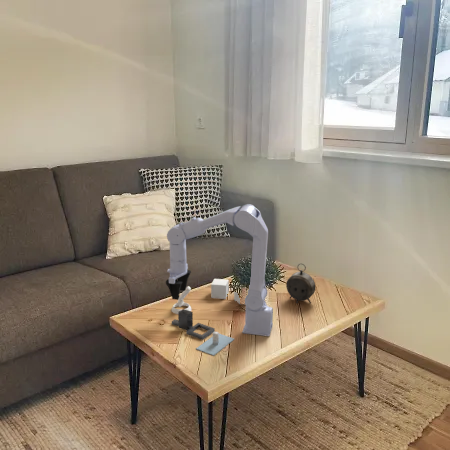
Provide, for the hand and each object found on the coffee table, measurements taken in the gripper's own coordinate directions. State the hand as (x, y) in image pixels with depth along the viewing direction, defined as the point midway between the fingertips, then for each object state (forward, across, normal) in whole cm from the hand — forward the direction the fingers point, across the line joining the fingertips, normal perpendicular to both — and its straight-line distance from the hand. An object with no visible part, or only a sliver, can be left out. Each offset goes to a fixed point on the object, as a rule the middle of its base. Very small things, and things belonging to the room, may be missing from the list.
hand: (179, 294), depth 167 cm
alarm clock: (+10, -26, +41) cm, 50 cm away
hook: (+10, -8, -2) cm, 13 cm away
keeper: (+10, +13, +17) cm, 24 cm away
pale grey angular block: (+10, -22, +20) cm, 31 cm away
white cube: (+10, -24, +9) cm, 28 cm away
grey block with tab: (+10, +5, +6) cm, 13 cm away
